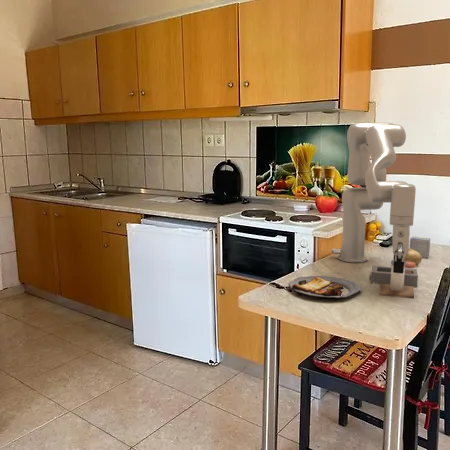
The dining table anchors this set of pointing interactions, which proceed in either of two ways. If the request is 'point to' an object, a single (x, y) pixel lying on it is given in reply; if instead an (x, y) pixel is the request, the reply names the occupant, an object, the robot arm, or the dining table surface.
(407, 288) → the pad
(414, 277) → the housing
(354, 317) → the dining table surface
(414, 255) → the onion
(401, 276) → the cylinder
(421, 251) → the medicine box
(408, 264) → the red round-topped peg
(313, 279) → the food plate
